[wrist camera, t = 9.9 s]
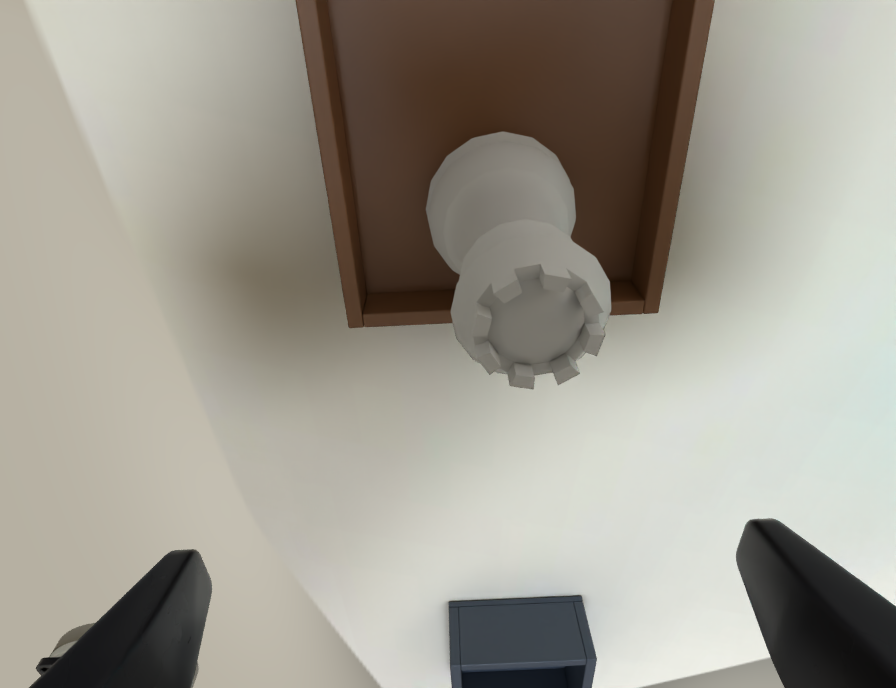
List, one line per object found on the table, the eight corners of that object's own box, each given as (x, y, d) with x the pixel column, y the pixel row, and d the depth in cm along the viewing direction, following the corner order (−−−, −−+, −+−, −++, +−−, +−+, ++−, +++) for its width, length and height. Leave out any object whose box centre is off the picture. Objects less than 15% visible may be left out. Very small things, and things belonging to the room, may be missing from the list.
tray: (356, 300, 19) (348, 328, 18) (249, -415, 11) (215, -492, 9) (639, 286, 19) (658, 313, 18) (752, -444, 11) (811, -526, 9)
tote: (453, 672, 33) (455, 735, 30) (448, 601, 29) (450, 666, 26) (571, 666, 33) (584, 729, 30) (581, 595, 29) (597, 659, 26)
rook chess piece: (585, 239, 18) (678, 385, 11) (458, 288, 19) (471, 451, 12) (544, 102, 16) (629, 179, 9) (402, 165, 16) (379, 279, 10)
